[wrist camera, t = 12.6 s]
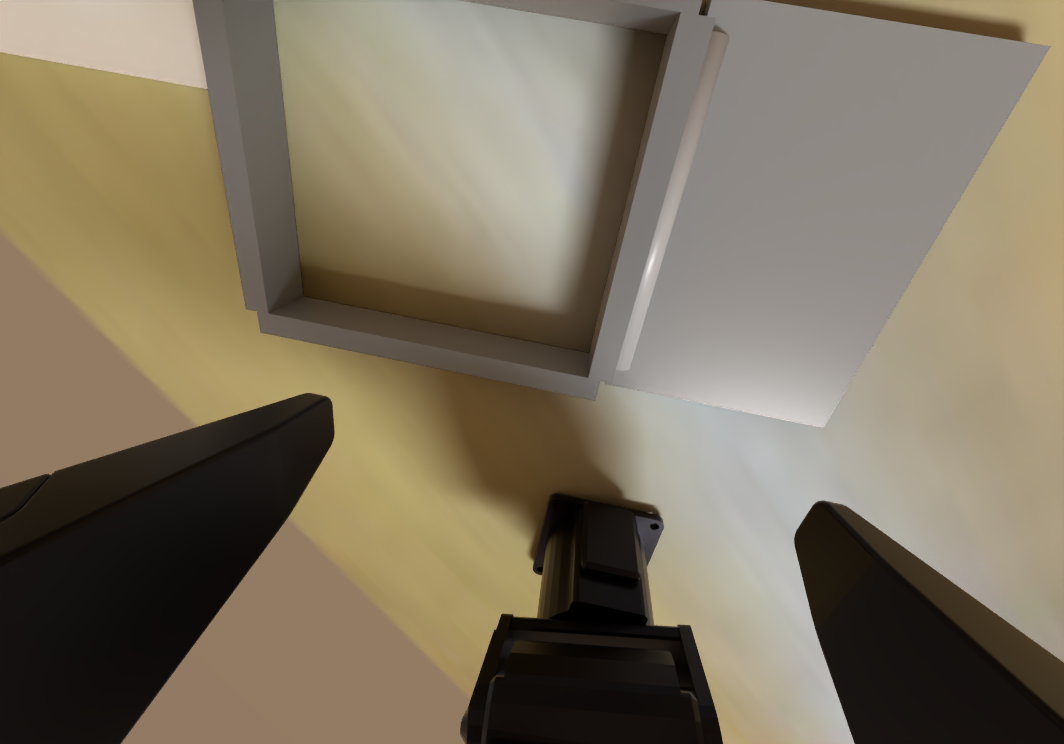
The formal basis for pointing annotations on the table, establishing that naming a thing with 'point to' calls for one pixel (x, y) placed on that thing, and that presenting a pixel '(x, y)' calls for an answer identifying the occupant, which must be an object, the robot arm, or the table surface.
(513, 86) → the table surface
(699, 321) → the grey piece
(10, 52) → the pale beige square mat
